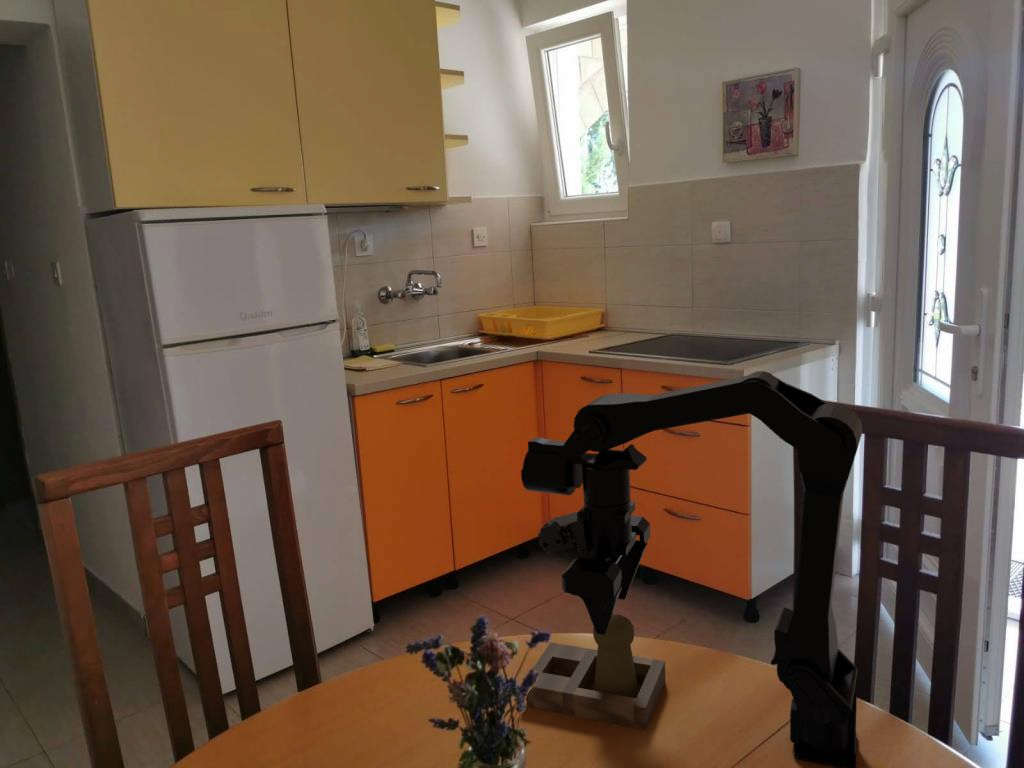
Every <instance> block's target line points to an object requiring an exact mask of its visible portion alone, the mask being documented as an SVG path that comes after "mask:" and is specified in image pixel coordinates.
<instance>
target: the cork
mask: <svg viewBox="0 0 1024 768" xmlns="http://www.w3.org/2000/svg"><path fill="white" fill-rule="evenodd" d="M592 635H593V639H594V642H595V644H597V649H596V650H597V661H596V672H595V679H594V681H593V691H599V692H604V693H609V694H615V695H620V696H626V697H631V698H637V696H638V694H639V692H640V689H639V684H638V683H637V678H636V672H635V667H634V661H633V656H634V655H633V651H632V646H631V644H632V643H633V642H634V639H635V628H634V624H633V623H632V622H631V620H630V618H628V617H627V616H624V615H622V614H617V613H613V614H612V617H611V620H610V623H609V625H608V628H607V631H606V633H605V634H604V635H602V634H597V633H596V631H595V629H594V626H593V628H592Z"/></svg>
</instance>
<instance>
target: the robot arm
mask: <svg viewBox="0 0 1024 768" xmlns="http://www.w3.org/2000/svg"><path fill="white" fill-rule="evenodd" d="M743 415H751V416H753V417H755V418H756V419H758V420H760V421H761V422H762V423H763V424H764V425H765V426H766V427H767V428H768V429H769V430H771V432H772V433H774V434H775V435H776V436H777V437H778V438H779V439H780V440H782V441H783V442H785V443H787V444H788V445H790V446H791V447H793V448H794V449H796V450H797V457H798V468H799V474H800V479H801V483H802V488H803V493H804V501H803V502H804V503H803V504H804V505H803V513H802V524H801V534H800V535H801V536H800V543H799V544H800V546H799V556H798V566H797V576H796V577H797V578H796V587H795V588H796V589H795V598H794V599H795V600H794V610H793V609H790V608H787V607H785V606H783V607H782V609H781V613H780V614H779V617H778V620H777V623H776V626H775V629H774V632H773V634H774V637H773V639H774V647H775V648H774V649H775V650H774V652H773V654H772V655H773V656H772V659H771V660H770V664H771V666H774V665H776V675H777V677H778V681H779V682H780V683H782V685H784V687H785V688H787V690H789V691H790V693H791V696H792V698H791V704H790V714H789V715H790V717H789V720H790V722H789V726H790V727H789V729H790V730H789V732H790V733H789V740H790V742H791V743H793V755H792V756H793V757H794V758H795V759H799V760H803V761H808V762H812V763H813V762H814V763H819V764H823V765H829V766H834V767H837V768H839V767H840V768H857V711H858V710H857V709H858V708H857V695H856V694H855V689H856V682H857V678H858V677H857V676H858V670H859V669H858V667H857V666H856V665H855V664H854V663H853V662H852V661H851V659H849V658H848V656H846V655H845V654H844V653H843V652H842V651H841V649H839V644H838V643H839V642H838V635H837V634H838V633H837V625H836V620H835V616H834V611H833V595H834V587H835V579H836V567H837V560H838V559H837V558H838V547H839V541H840V540H839V539H840V529H841V521H842V520H841V519H842V513H843V512H842V511H843V504H844V503H843V502H844V493H845V489H846V486H847V483H848V480H849V476H850V474H851V472H852V471H851V470H852V467H853V464H854V461H855V459H856V454H857V451H858V448H859V445H860V442H861V439H862V438H861V437H862V434H863V423H862V420H861V418H860V417H859V415H858V414H856V413H855V411H854V410H853V409H851V408H849V407H848V406H846V405H843V404H841V403H835V402H832V403H831V402H830V403H828V402H826V401H824V400H823V399H821V398H820V397H818V396H816V395H814V394H812V393H811V392H808V391H806V390H803V389H800V388H799V387H796V386H794V385H791V384H789V383H786V382H785V381H783V380H781V379H780V378H778V377H777V376H775V375H773V374H772V373H771V372H768V371H764V370H763V371H762V370H761V371H754V372H752V373H750V374H748V375H745V376H744V375H743V376H739V377H735V378H729V379H724V380H719V381H716V382H710V383H704V384H700V385H696V386H695V385H694V386H691V387H685V388H682V389H681V388H680V389H676V390H670V391H666V392H661V393H657V394H641V393H636V392H635V393H633V392H630V393H628V392H626V393H623V392H622V393H620V392H619V393H606V394H603V395H601V396H599V397H597V398H595V399H594V400H593V401H590V402H589V403H587V404H585V405H584V406H583V407H582V408H580V409H579V410H578V411H577V412H576V415H575V416H574V421H573V431H572V433H571V434H570V435H569V437H567V439H566V441H565V440H553V439H548V438H543V437H535V436H534V438H531V440H529V441H528V442H527V452H526V454H525V456H524V459H523V463H522V464H523V465H522V468H521V470H520V477H521V482H522V486H523V488H524V489H525V490H526V491H528V492H536V493H544V494H553V495H560V496H562V495H563V496H572V495H573V494H574V493H575V491H576V490H577V489H580V488H581V487H582V490H583V492H582V493H583V496H582V497H583V506H582V508H580V509H579V510H578V511H576V512H571V513H567V514H563V515H560V516H556V517H553V518H551V519H550V520H548V521H547V522H546V523H545V524H543V525H542V527H541V528H540V529H539V531H538V534H537V535H538V539H539V540H538V541H537V545H538V546H539V547H540V548H542V550H544V551H545V552H547V554H549V555H554V554H557V552H560V551H564V550H567V549H571V548H575V547H576V551H577V553H585V554H587V553H588V552H590V554H591V555H593V556H595V558H590V557H582V556H581V557H579V556H578V557H576V558H575V559H574V560H572V562H571V563H570V564H569V565H568V567H566V569H565V571H564V572H563V573H562V575H561V585H562V587H561V588H562V589H561V590H562V591H563V592H564V593H565V594H570V595H571V596H577V597H579V598H580V599H581V601H583V603H584V606H585V608H586V610H587V614H588V615H589V618H590V621H591V623H592V626H593V627H594V629H595V631H596V633H597V634H602V635H604V634H605V633H606V631H607V628H608V625H609V623H610V620H611V617H612V614H614V611H615V609H616V605H617V602H618V600H626V598H627V596H628V594H629V591H630V588H631V585H632V583H633V581H634V579H635V575H636V573H637V571H638V568H639V567H640V563H641V561H642V558H643V555H644V553H645V550H646V549H647V546H648V541H649V540H650V538H651V523H650V522H649V521H648V520H647V519H646V518H645V516H641V515H632V514H633V513H634V512H635V510H636V501H633V500H632V499H631V475H630V473H631V471H637V470H638V469H640V467H642V466H643V465H644V464H645V463H646V461H648V458H647V456H646V455H644V453H642V452H641V451H640V450H638V449H637V448H636V446H635V445H634V444H633V443H632V444H629V445H628V446H627V447H626V448H624V449H613V448H616V447H619V446H622V445H624V444H627V443H629V442H631V441H633V440H636V439H638V438H640V437H643V436H644V435H647V434H649V433H651V432H656V431H660V430H666V429H667V430H668V429H672V428H677V427H682V426H687V425H688V426H689V425H694V424H700V423H705V422H711V421H715V420H721V419H728V418H731V417H733V418H734V417H737V416H743ZM589 451H590V452H596V453H590V452H589ZM637 536H639V540H638V538H637Z"/></svg>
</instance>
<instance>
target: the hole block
mask: <svg viewBox="0 0 1024 768" xmlns="http://www.w3.org/2000/svg"><path fill="white" fill-rule="evenodd" d="M597 650H598V649H593V648H587V647H581V646H575V645H569V644H564V643H563V644H562V643H556V642H551V641H550V642H549V644H548V645H547V646H546V648H545V650H544V651H543V653H542V654H540V657H539V658H538V660H537V662H536V663H535V664H534V665H533V666H532V668H531V670H536V671H538V672H539V673H540V676H539V678H538V680H537V682H536V683H535V685H534V686H533V688H532V689H531V690H530V691H529V693H528V695H527V697H526V701H527V706H526V707H529V708H533V709H534V708H535V709H539V710H544V711H549V712H553V713H559V714H565V715H568V716H574V717H578V718H584V719H588V720H594V721H598V722H599V721H600V722H605V723H609V724H615V725H620V726H624V727H628V728H634V729H638V730H639V729H640V730H644V731H647V729H648V727H649V725H650V722H651V719H652V716H653V715H654V711H655V710H656V706H657V705H658V702H659V699H660V696H661V694H662V691H663V688H664V686H665V683H666V661H665V660H661V659H654V658H648V657H642V656H637V655H632V656H633V661H634V667H635V672H636V678H637V683H639V684H638V685H641V687H640V689H639V694H638V696H637V698H631V697H626V696H620V695H615V694H609V693H604V692H599V691H594V689H591V686H592V685H593V684H594V682H595V672H596V661H597Z"/></svg>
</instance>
